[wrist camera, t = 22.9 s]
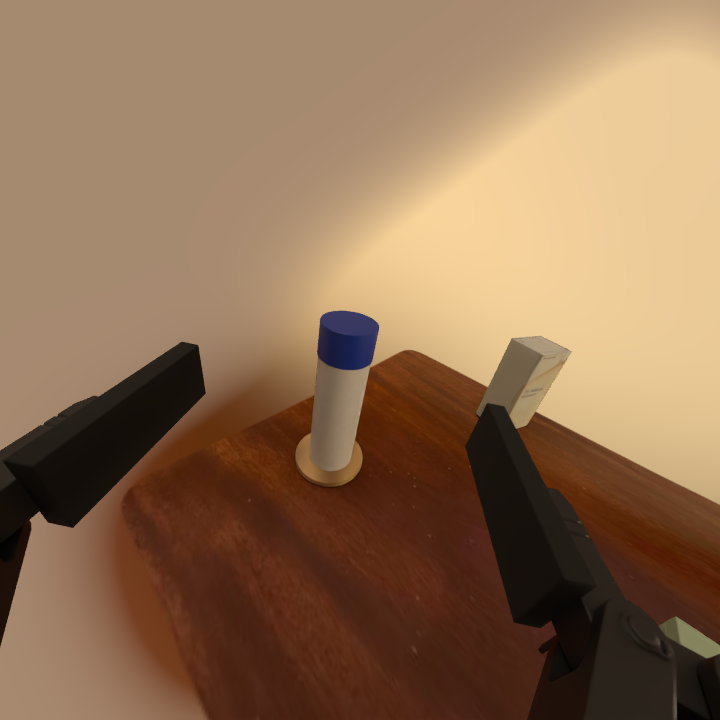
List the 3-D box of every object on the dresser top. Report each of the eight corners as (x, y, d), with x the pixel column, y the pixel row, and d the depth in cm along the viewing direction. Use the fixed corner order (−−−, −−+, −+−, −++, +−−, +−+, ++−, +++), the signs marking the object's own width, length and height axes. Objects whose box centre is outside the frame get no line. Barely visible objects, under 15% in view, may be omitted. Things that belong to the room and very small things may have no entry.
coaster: (301, 494, 26) (302, 490, 25) (290, 437, 31) (290, 433, 31) (371, 478, 28) (372, 474, 28) (349, 428, 34) (350, 425, 33)
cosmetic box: (498, 435, 37) (543, 356, 31) (473, 413, 40) (509, 337, 34) (528, 425, 40) (574, 351, 33) (502, 405, 43) (541, 334, 37)
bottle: (313, 476, 27) (328, 336, 19) (304, 440, 30) (314, 310, 23) (358, 467, 28) (388, 334, 21) (344, 434, 32) (366, 310, 24)
